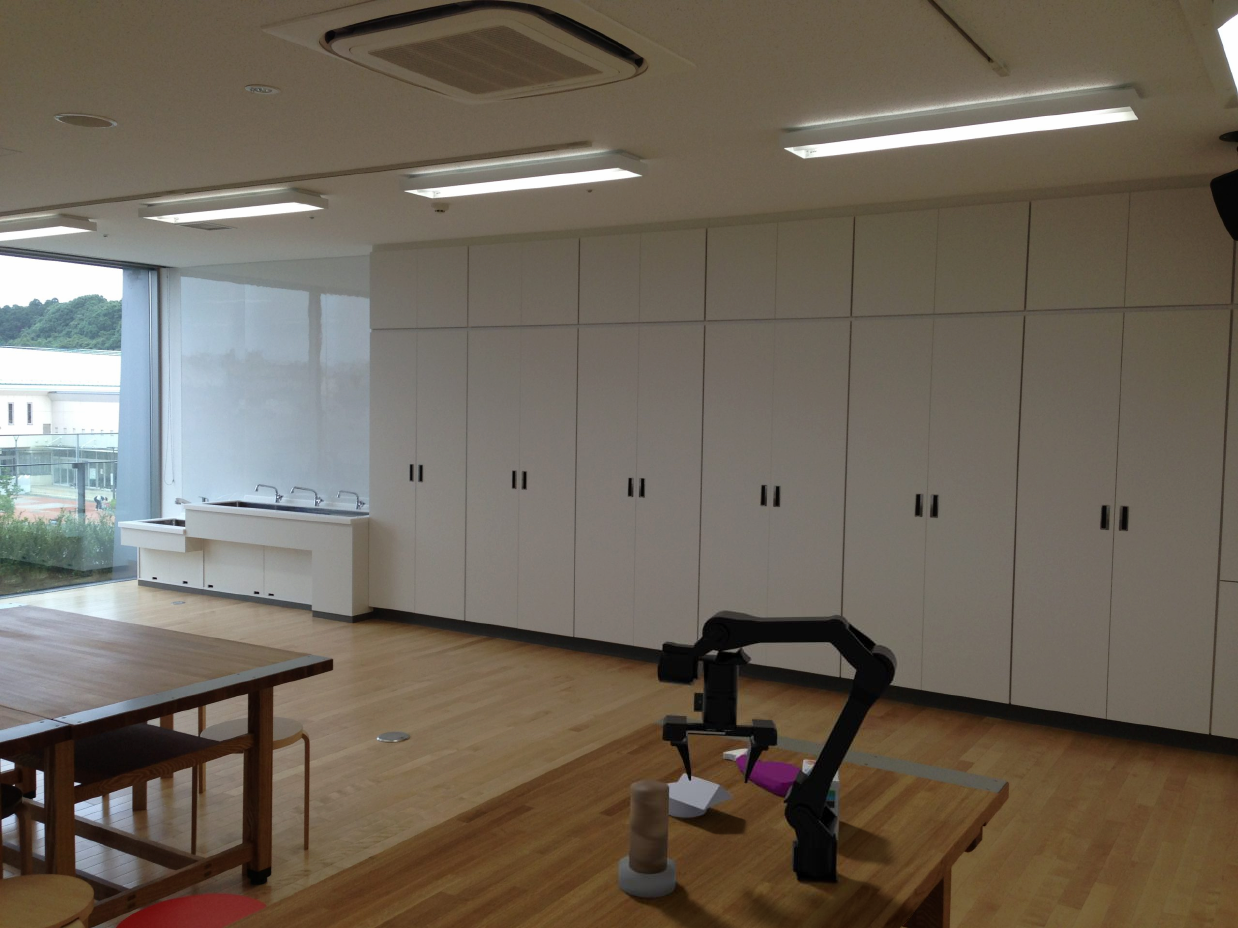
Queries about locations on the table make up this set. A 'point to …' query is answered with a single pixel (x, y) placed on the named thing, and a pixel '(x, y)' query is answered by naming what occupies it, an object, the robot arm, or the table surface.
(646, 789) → the walnut cylinder
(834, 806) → the light bulb box
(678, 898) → the table surface
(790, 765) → the spray bottle
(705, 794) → the wedge on round base
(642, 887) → the slate pedestal
